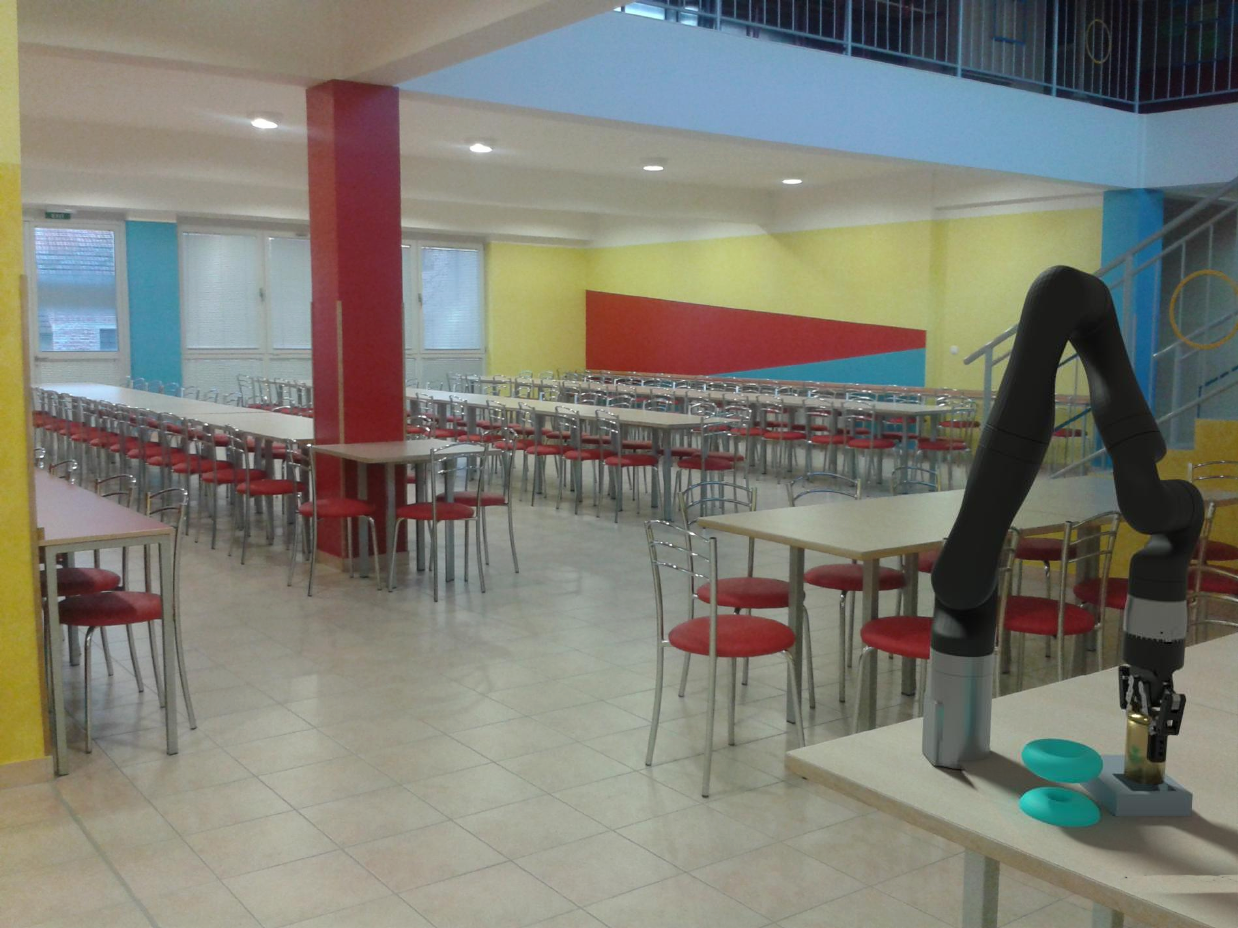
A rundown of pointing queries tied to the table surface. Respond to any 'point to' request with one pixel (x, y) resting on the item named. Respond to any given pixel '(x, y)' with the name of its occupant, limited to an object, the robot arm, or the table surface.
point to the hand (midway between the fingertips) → (1145, 753)
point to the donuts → (1062, 766)
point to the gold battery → (1140, 751)
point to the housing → (1137, 793)
